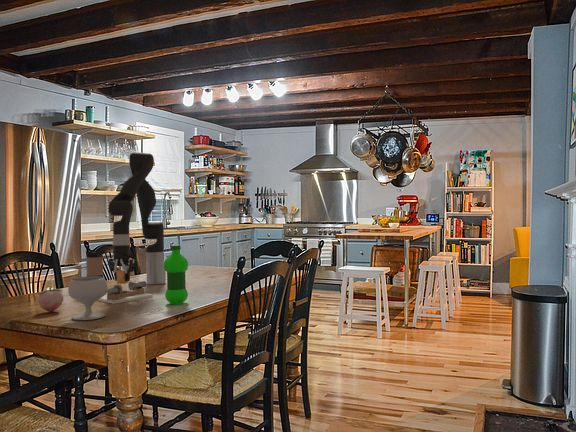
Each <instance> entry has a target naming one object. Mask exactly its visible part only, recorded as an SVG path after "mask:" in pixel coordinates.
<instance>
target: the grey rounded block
mask: <svg viewBox="0 0 576 432" xmlns="http://www.w3.org/2000/svg"><path fill="white" fill-rule="evenodd" d="M122 291H123V286H122V284H114V286H113V287H111V288H108V290H107V293H106V295H107V300H119V299H121V292H122Z"/></svg>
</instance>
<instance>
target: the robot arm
mask: <svg viewBox="0 0 576 432" xmlns="http://www.w3.org/2000/svg"><path fill="white" fill-rule="evenodd" d="M128 161H129V168H130V172H131V175H132V176H131V177H129V178H128V179H127V180H126V181H125V182H124V183H123V185H122V187H121V189H120V191H119V192H118V193H117V194H116V195H115V196H114V197H113V198H112V199H111V201H110V202H109V204H108V213H109V214H110V215H111V216H112V217H121V218H120V220H116V221H114V222H113V224H112V231H113V232H112V234H113V235H112V254H113V257H111V258H108V265H109V270H110V272H112V273H114V275H113V276H114V281H115V282H117V272H116V270H121V269H122V270H123V269H124V271H125V282H128V283H129V282H130V280H131V273H132V272H134V270H135V265H136V259H135V258H131V257H130V254H131V238H130V222H131V218H132V215H133V211H134V209H133V203H132V202H133V201H134V199H135V197H136V198H137V199H136V200H137V204H138V208H139V213H140V221H141V232H142V235H143V238H144V239H146V240H156V242H154V243H153V244H151V245H148V246H146V247H145V259H146V260H145V266H146V283H147V285H161V284H167V272H166V271H165V269H164V261H165V258H164V256H165V255H164V254H165V253H164V234H165V232H164V231H165V230H164V228H165V227H164V223H163V222H160V221H156V222H155V221H154V222H153V221H151V222H149V217H150V216H151V214H152V212H153V211H154V208H155V207H156V204H157V197H156V192H155V190H154V188H153V186H152V185H151V184H150V183H149V182H148V180H146V178H147V177H148V176H149V174H150V173H151V172H152V170H153V168H154V164H155V158H154V155H153V154H151V153H150V152H149V153H148V152H137V151H136V152H135V151H134V152H131V153H130V155H129V158H128Z"/></svg>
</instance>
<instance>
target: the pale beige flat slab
mask: <svg viewBox="0 0 576 432" xmlns="http://www.w3.org/2000/svg"><path fill="white" fill-rule="evenodd" d="M153 297H154V295H153V294H151V293H147V292H144V293H142V294H136V293H135V292H133V290H122V292H121V299H119V300H107V294H105V295H104V296H103V297H102V298H100V299H98V300H97V302H103V303H108V304H119V303H127V302H131V301H138V299H139V300H143V299H144V300H145V299H150V298H153Z"/></svg>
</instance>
